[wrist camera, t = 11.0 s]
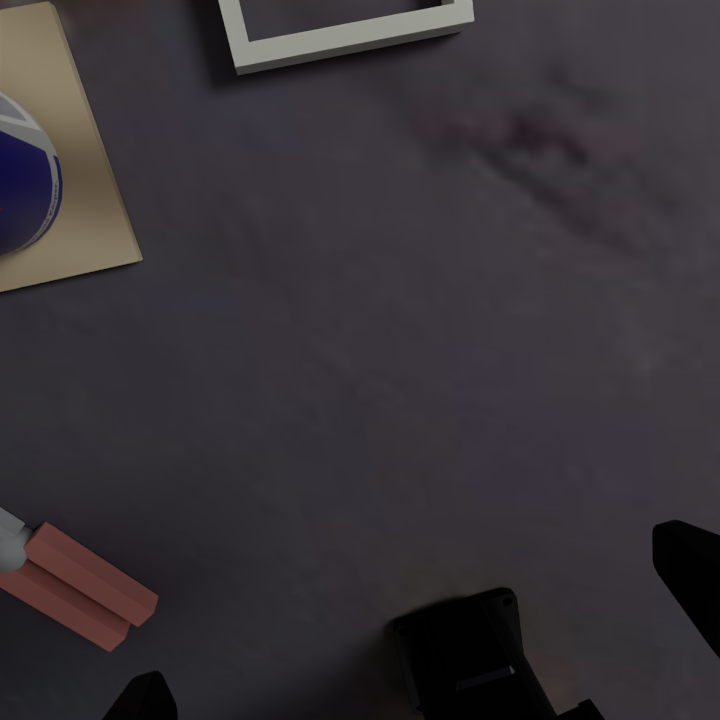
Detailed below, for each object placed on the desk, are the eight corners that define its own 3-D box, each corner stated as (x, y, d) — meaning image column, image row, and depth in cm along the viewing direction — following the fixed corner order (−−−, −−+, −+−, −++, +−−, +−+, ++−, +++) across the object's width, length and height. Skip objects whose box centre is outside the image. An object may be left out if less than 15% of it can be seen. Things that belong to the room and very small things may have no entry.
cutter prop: (158, 596, 23) (153, 614, 22) (116, 633, 23) (109, 653, 22) (-31, 470, 20) (-48, 485, 19) (-78, 515, 20) (-97, 533, 19)
